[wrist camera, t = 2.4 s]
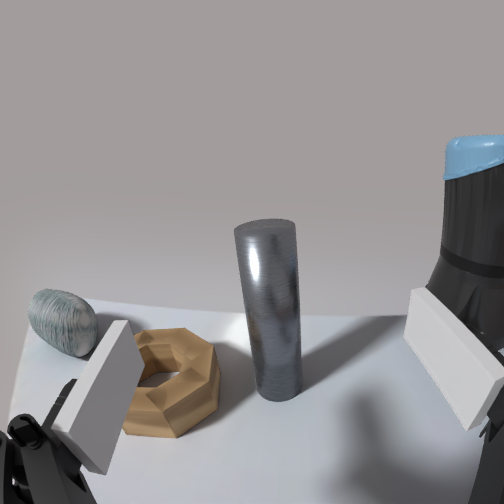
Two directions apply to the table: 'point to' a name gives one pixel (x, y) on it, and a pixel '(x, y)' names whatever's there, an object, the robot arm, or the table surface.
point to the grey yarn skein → (64, 321)
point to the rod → (272, 304)
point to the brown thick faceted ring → (173, 384)
